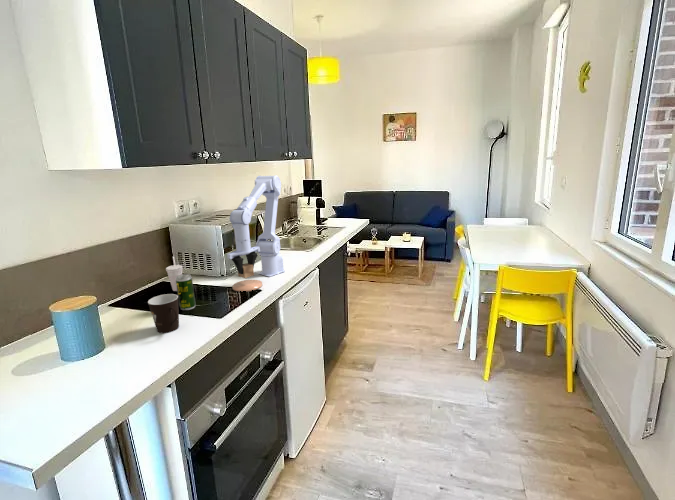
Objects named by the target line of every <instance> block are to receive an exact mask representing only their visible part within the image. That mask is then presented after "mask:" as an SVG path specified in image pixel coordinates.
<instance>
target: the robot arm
mask: <svg viewBox="0 0 675 500" xmlns="http://www.w3.org/2000/svg"><path fill="white" fill-rule="evenodd" d="M281 189H282V182H281V179H280V177H279V176H278V175H277V174H276V175H258V176H256V178H255V179H254V186H253V189H252V190H251V193H250V194H249V195H248V196H245V197H243V200H242V201H241V203H240V204H239V205H238V207H237V208H236V209H234V210H232V211H231V212H230V215H229V221H230V223H231V226H232V228H233V231H234V239H235V240H234V241H235V249H236V250H234V251H231V252H229V253H226V258H227V260H231V261H232V262H233V263H234V265H235V267H236V269H237V274H238V273H239V274H243V264H244V258H243V257H241V256H245V257H246V261H247V263H248V264H252V265H253V270H254V267H255V263H256V259H257V258H258V255H259V256H260V261H261V271H260V272H258V275H262V276H265V277H269V278H270V277H272V276H277V275H279V274H281V273H284V272H285V270H284V258H283V255H282V254H281V253H280V251H281V242H280V240H281V238H280V237H279V236H278V235H277V234H276V227H277V226H276V225H277V214H278V206H279V205H278V204H279V196H281V191H282V190H281ZM261 196H264V197H265V198H266V201H265V209H264V210H265V211H264V219H263V220H264V221H263V230H262V233H261V234H260V235H258V236H257V241H256V243H255V246H251V244H252V243H251V238H250V226H249V224H250V223H251V220H252V216H253V212H254V211H255V209H256V207H257V206H258V200H259V199H260V197H261Z"/></svg>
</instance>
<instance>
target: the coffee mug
mask: <svg viewBox="0 0 675 500" xmlns="http://www.w3.org/2000/svg"><path fill="white" fill-rule="evenodd" d="M147 305H148V307H149V311H150V314H151V317H152V319H153V323H154V326H155V328H156V331H157V332H158V334H168V333H171V332H172V333H173V332H174V331H177V330H178V329H179V327H180V320H179V319H180V318H179V317H180V316H179V315H180V313H179V298H178V294H174V293H167V294H165V293H164V294H160V295H157V296H153V297H151V298H150V299H148V301H147Z"/></svg>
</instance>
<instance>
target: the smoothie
mask: <svg viewBox="0 0 675 500" xmlns="http://www.w3.org/2000/svg"><path fill="white" fill-rule="evenodd" d="M172 261H173V262H172V263H173V265H169V266H167V267H165V271H166V272H167V273H166V274H167V276H168V279H169V282H170V286H171V289H172V291H173V292H177V286H176V276H178V275H182V274H183V269H184V266H183V265H181V264H176V261H175V256H172Z"/></svg>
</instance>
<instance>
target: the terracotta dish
mask: <svg viewBox="0 0 675 500" xmlns="http://www.w3.org/2000/svg"><path fill="white" fill-rule="evenodd" d="M262 287H263V281H262V280H260V279H259V280H258V279H245V280H240V281H236V282H235V283H233V284H232V287H231V288H232V290H233V291H235V292H240V291H241V292H243V291H246V292H252V290H253V291H255V290H258V289H260V288H262ZM241 292H240V293H241ZM243 293H244V292H243Z"/></svg>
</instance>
